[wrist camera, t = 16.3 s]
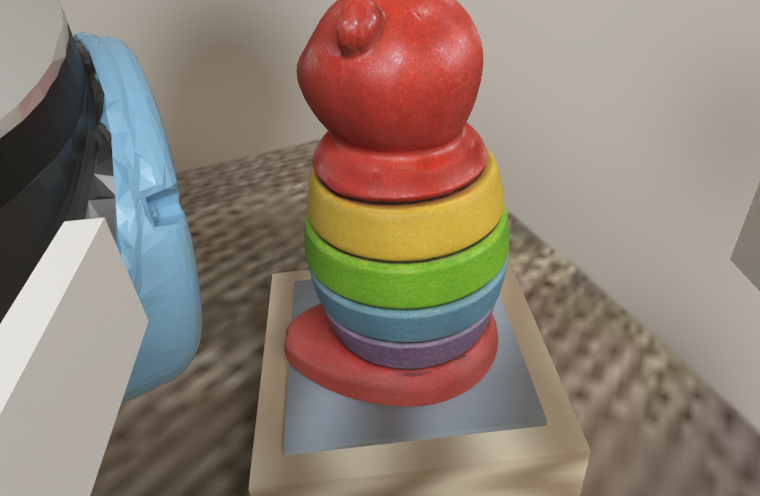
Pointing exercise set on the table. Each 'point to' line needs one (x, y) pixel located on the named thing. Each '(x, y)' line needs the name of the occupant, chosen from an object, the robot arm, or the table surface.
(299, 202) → the table surface
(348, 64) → the stacking bear
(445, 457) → the plinth
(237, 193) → the table surface
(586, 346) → the table surface
